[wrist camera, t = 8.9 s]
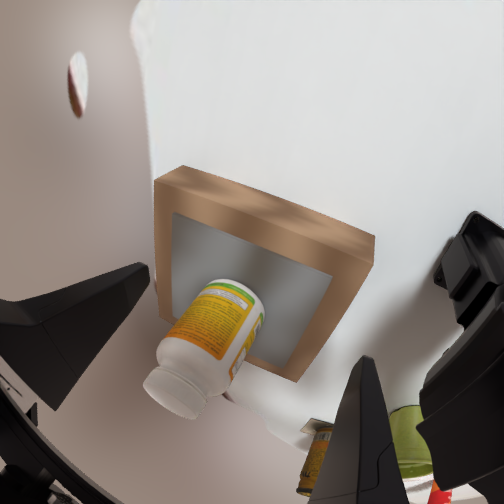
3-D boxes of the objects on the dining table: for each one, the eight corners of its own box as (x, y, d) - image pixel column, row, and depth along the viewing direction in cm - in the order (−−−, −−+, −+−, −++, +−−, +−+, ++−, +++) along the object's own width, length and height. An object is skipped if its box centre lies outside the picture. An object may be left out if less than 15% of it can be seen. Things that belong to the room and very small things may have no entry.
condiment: (344, 442, 39) (324, 501, 30) (300, 430, 41) (275, 489, 32) (361, 430, 34) (341, 498, 25) (312, 416, 37) (285, 485, 27)
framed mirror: (374, 235, 19) (373, 267, 16) (306, 355, 29) (295, 385, 26) (182, 165, 22) (151, 181, 19) (177, 296, 32) (158, 318, 29)
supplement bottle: (194, 281, 23) (119, 369, 16) (246, 271, 20) (168, 382, 13) (225, 328, 25) (168, 416, 17) (277, 325, 22) (223, 432, 14)
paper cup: (455, 479, 38) (446, 523, 27) (429, 483, 42) (419, 526, 32) (458, 473, 35) (449, 521, 25) (430, 477, 40) (419, 525, 29)
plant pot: (439, 424, 28) (433, 477, 21) (380, 428, 32) (368, 479, 26) (447, 394, 24) (444, 459, 17) (376, 400, 29) (363, 462, 22)
